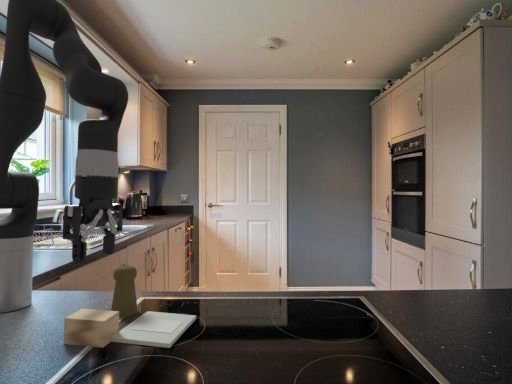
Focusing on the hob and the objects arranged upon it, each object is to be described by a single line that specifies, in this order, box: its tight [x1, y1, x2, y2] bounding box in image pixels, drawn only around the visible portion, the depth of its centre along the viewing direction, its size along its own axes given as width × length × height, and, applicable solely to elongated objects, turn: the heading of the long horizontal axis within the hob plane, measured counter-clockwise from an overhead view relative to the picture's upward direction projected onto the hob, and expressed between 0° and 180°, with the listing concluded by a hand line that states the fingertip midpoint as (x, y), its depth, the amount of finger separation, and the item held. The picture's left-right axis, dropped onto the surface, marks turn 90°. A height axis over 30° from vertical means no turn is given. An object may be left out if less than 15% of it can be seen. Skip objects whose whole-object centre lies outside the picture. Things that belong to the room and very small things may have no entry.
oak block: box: [63, 308, 120, 348], centre depth 61 cm, size 8×5×5 cm, turn 83°
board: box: [110, 310, 197, 349], centre depth 66 cm, size 12×14×1 cm
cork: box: [110, 265, 139, 318], centre depth 75 cm, size 6×6×11 cm
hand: (94, 257), depth 61 cm, fingers open, 8 cm apart
